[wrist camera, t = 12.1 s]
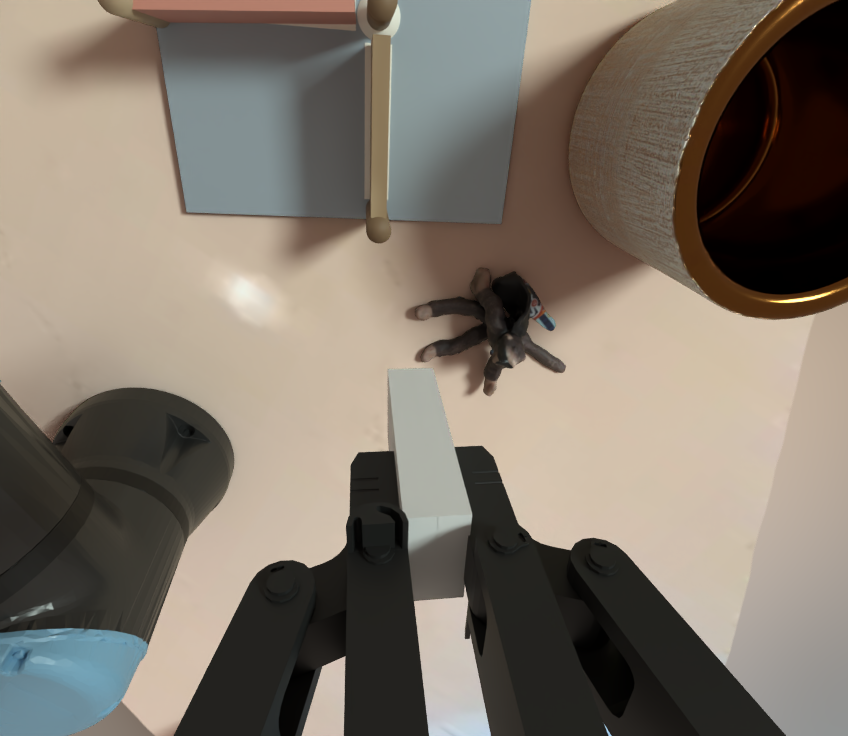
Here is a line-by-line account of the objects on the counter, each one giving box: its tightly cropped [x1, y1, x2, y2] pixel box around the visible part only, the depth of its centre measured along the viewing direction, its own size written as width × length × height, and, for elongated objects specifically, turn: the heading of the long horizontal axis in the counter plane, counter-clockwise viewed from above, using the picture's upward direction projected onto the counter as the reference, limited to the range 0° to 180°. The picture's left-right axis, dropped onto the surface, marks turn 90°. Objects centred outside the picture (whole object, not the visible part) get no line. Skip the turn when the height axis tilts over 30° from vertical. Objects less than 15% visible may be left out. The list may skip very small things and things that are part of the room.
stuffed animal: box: [415, 268, 566, 396], centre depth 45 cm, size 12×10×12 cm
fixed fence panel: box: [366, 0, 398, 243], centre depth 33 cm, size 2×14×8 cm, turn 176°
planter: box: [569, 0, 848, 320], centre depth 32 cm, size 18×18×16 cm
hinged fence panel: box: [98, 0, 356, 28], centre depth 29 cm, size 13×2×6 cm, turn 90°
